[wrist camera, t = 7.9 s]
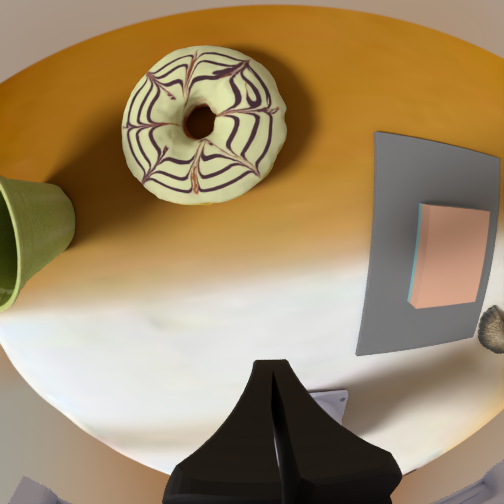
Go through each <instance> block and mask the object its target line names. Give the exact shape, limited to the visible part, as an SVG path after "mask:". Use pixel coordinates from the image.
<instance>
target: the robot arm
mask: <svg viewBox="0 0 504 504" xmlns="http://www.w3.org/2000/svg"><path fill="white" fill-rule="evenodd" d="M348 396H349V394H348V391H347V390H339V391H329V392H317V393H308V391H307V390H306V389H305V387H304V386H303V385H302V383H301V382H300V381H299V379H298V378H297V376H296V375H295V373H294V371H293V370H292V368H291V366H290V364H289V362H288V361H287V360H286V359H281V360H256V361H254V362H253V369H252V372H251V375H250V378H249V381H248V383H247V385H246V387H245V390H244V392H243V394H242V395H241V397H240V399H239V401H238V402H237V404H236V406H235V408H234V409H233V411H232V412H231V413H230V415H229V416H228V418H227V419H226V420H225V422H224V423H223V424H222V425H221V426H220V428H219V429H218V430H217V431H216V432H215V433H214V434H213V435H212V436H211V438H209V439H208V440H207V441H206V442H205V443H204V444H203V445H202V446H201V447H200V448H199V449H198V450H196V451H195V452H194V453H193V454H191V455H190V456H189V457H187V458H186V459H184V460H183V461H182V462H180V463H179V464H177V465H176V467H175V468H174V470H173V472H172V474H171V476H170V478H169V480H168V482H167V485H166V488H165V491H164V496H163V500H162V503H163V504H392V501H391V498H390V495H391V494H392V492H393V491H394V490H395V488H396V487H397V486H398V485H399V483H400V481H401V479H402V473H401V470H400V468H399V466H398V464H397V462H396V460H395V459H394V457H393V456H392V454H391V453H390V452H388V451H386V450H384V449H381V448H379V447H377V446H375V445H372V444H370V443H368V442H367V441H365V440H363V439H361V438H359V437H358V436H356V435H355V434H353V433H352V432H350V431H349V430H347V429H346V428H345V427H343V425H342V418H343V414H344V411H345V407H346V403H347V399H348ZM342 398H343V399H342ZM8 504H72V503H70V502H67V501H65V500H63V499H60V498H58V496H57V495H56V494H55V493H54V492H53V491H52V490H51V489H50V488H48V487H47V486H45V485H43V484H41V483H39V482H37V481H35V480H33V479H31V478H30V477H28V476H25V475H24V476H23V477H22V479H21V481H20V483H19V485H18V486H17V488H16V490H15V492H14V493H13V495H12V497H11V499H10V501H9V503H8ZM431 504H504V460H502V461H501V462H499V463H497V464H496V465H495V466H493V467H492V468H491V469H490V470H489V471H488V472H487V473H486V474H485V475H484V476H483V478H482V479H480V480H478V481H476V482H475V483H473V484H471V485H469V486H467V487H465V488H463V489H461V490H459V491H457V492H455V493H453V494H451V495H449V496H447V497H445V498H442V499H440V500H438V501H435V502H433V503H431Z"/></svg>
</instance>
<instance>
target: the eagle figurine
mask: <svg viewBox="0 0 504 504" xmlns="http://www.w3.org/2000/svg"><path fill="white" fill-rule="evenodd" d="M479 328H480V330H479V331H478V333H479V335H478V338H479V341H480V343H481V344H482V345H483V346H484V347H486V348H487V349H490V350H491V351H492V352H494V353H497V354H498V353H500V354H501V353H504V322H503V321H502V319H501V318H500V316H499V314H498V312H497V310H496V309H495V307H493V308H492V309H488V310H487V312H484V313H483V316H482V317H481V318H480V323H479Z"/></svg>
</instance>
